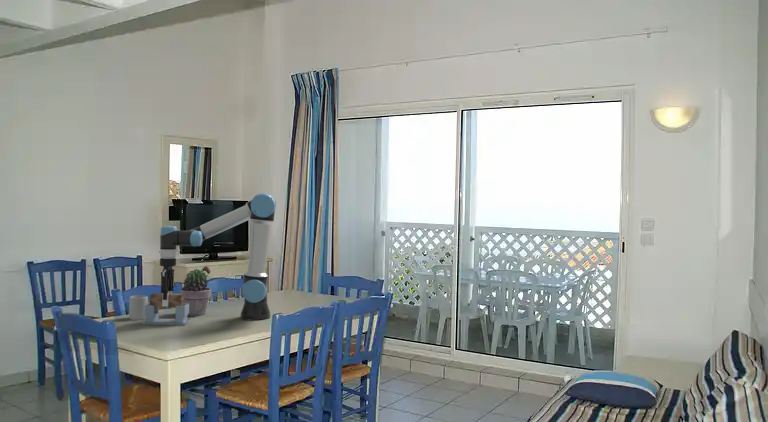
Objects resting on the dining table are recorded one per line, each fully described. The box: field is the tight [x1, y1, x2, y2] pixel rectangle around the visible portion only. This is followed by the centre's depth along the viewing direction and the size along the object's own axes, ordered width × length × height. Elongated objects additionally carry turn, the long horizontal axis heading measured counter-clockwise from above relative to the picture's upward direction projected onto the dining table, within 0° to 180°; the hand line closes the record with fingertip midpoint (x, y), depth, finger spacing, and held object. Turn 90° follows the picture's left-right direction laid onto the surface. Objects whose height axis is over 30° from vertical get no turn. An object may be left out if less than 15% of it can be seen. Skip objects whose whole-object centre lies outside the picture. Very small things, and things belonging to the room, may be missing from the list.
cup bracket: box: [142, 302, 191, 326], centre depth 304 cm, size 20×10×9 cm, turn 92°
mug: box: [128, 294, 150, 321], centre depth 315 cm, size 12×8×11 cm
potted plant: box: [179, 265, 212, 317], centre depth 327 cm, size 18×20×25 cm
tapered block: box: [149, 292, 184, 309], centre depth 304 cm, size 15×4×6 cm, turn 92°
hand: (166, 305), depth 304 cm, fingers closed on tapered block, 4 cm apart
